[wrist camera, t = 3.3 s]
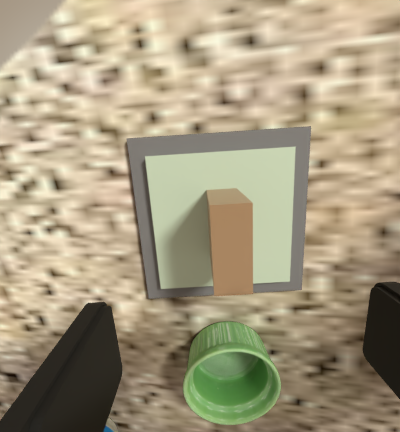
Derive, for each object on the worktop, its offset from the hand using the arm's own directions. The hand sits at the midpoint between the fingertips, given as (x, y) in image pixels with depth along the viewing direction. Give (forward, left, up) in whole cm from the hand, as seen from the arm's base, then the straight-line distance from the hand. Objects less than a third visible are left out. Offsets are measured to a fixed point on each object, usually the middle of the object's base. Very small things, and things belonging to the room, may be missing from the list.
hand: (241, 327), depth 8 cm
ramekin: (+15, +1, -14) cm, 20 cm away
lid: (0, +1, -13) cm, 13 cm away
